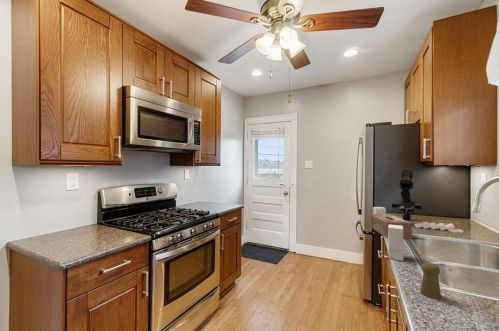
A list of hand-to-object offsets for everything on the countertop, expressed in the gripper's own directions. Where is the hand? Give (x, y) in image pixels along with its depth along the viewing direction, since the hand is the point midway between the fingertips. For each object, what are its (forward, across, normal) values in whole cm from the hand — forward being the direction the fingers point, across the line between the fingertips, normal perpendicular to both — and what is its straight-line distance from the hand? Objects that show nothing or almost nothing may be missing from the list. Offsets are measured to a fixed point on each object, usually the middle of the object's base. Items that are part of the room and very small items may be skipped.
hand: (405, 217), depth 174 cm
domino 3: (+6, +20, 0) cm, 21 cm away
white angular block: (+6, +6, 0) cm, 8 cm away
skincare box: (+7, -15, -67) cm, 69 cm away
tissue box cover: (+8, -12, -20) cm, 25 cm away
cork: (+7, -9, -101) cm, 101 cm away
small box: (+7, -16, +16) cm, 24 cm away
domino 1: (+6, +10, 0) cm, 12 cm away
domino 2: (+6, +15, 0) cm, 16 cm away
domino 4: (+5, +24, 0) cm, 25 cm away
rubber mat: (+7, +12, 0) cm, 14 cm away
